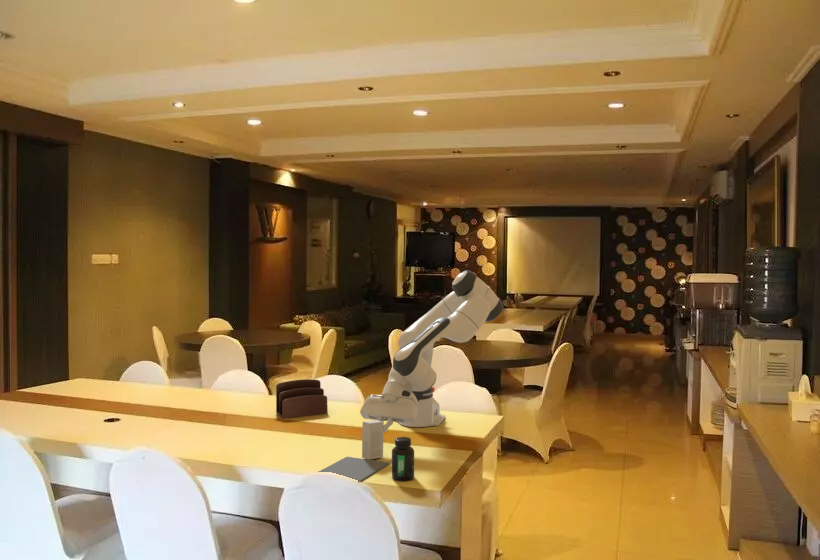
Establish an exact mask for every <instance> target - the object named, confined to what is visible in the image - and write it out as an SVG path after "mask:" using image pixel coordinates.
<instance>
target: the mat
mask: <svg viewBox="0 0 820 560" xmlns="http://www.w3.org/2000/svg"><path fill="white" fill-rule="evenodd" d="M389 465H390V462H389V461H382V460H375V459H371V460H369V459H365V458H362V457H353V456H345V457H344V458H340V460H338V461H336V462H334V463H331V464H330V465H329V466H327V467H324V468H323V469H321V470H319V471H318V472H332V473H336V474H339V475H343V476H346V477H349V478H352V479H355V480H358V481H361V482H363V481H365V480H366V479H368V478H369V477H371V476H373V475H374V474H376V473H377V472H379V471H380V470H382V469H384V468H386V467H387V466H389Z"/></svg>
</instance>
